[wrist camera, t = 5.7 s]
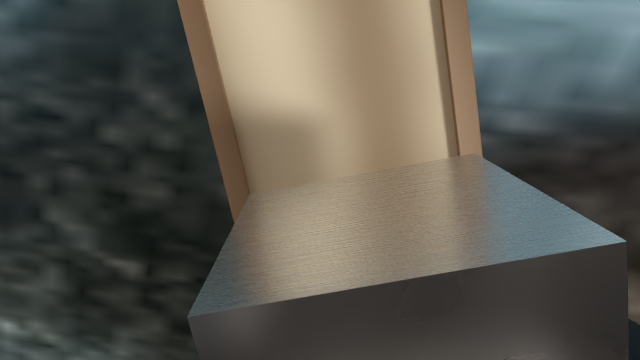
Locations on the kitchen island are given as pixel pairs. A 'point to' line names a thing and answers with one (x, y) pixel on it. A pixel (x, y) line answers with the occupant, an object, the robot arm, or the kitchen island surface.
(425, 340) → the steel block
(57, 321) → the kitchen island surface
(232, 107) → the beam
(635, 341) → the robot arm
